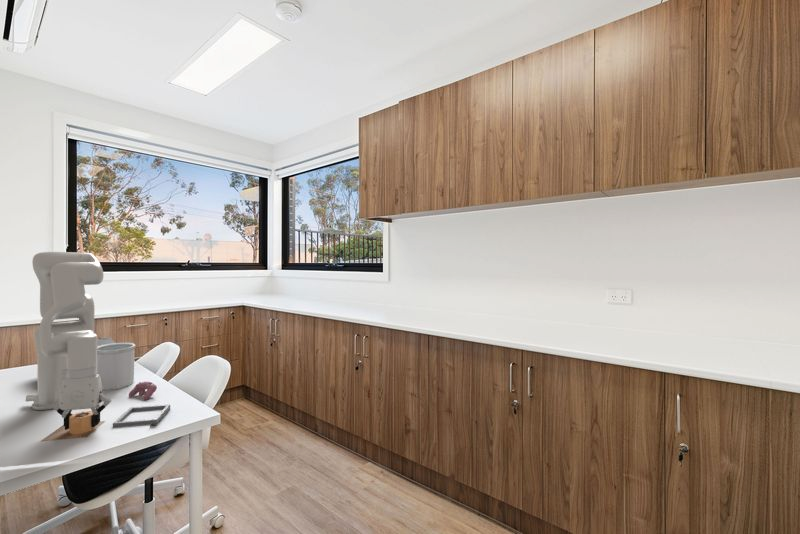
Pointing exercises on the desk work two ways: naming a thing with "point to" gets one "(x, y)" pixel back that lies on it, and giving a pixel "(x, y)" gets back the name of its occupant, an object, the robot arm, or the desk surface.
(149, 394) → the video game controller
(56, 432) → the base
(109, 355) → the utensil holder
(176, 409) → the desk surface
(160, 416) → the tray
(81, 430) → the collar
